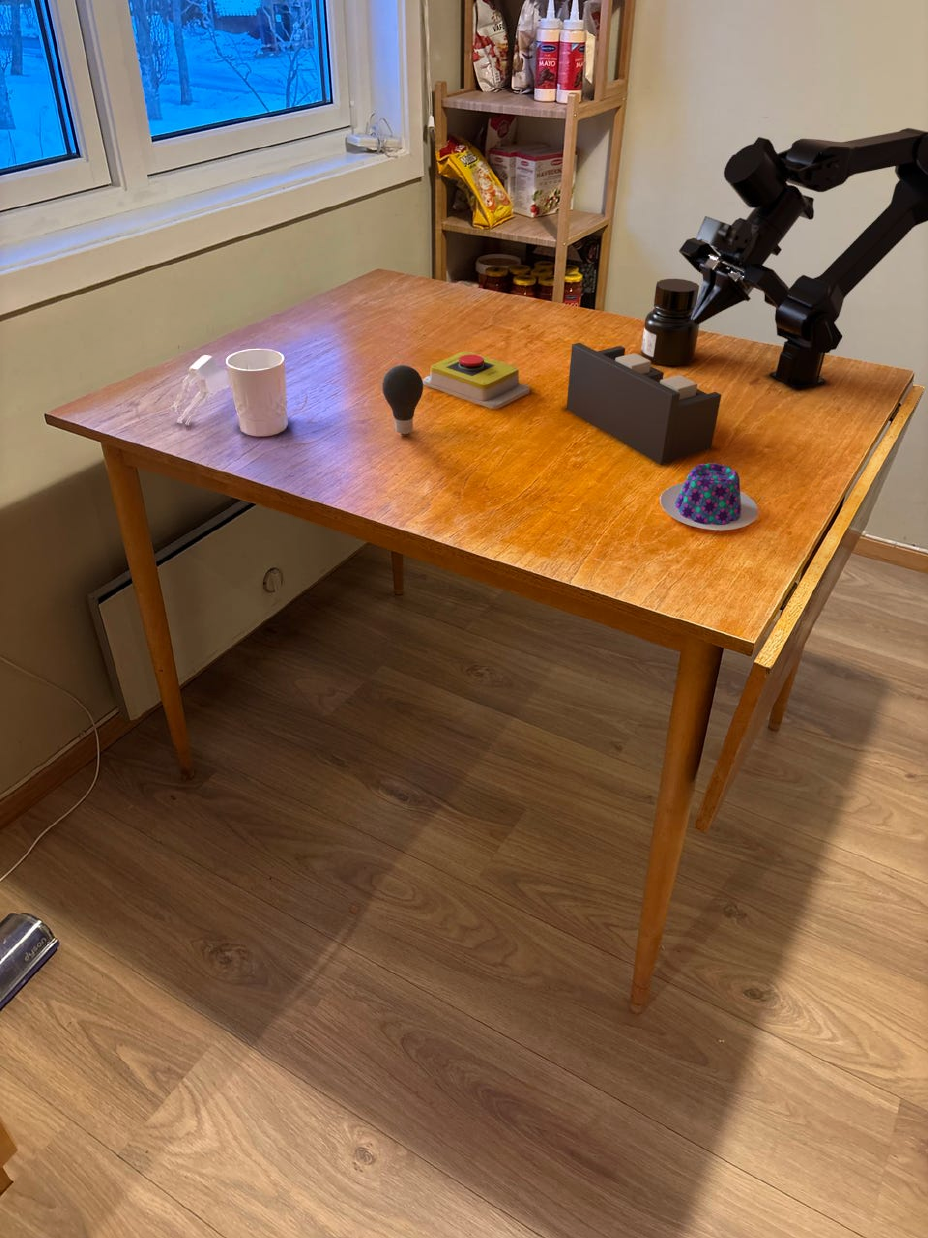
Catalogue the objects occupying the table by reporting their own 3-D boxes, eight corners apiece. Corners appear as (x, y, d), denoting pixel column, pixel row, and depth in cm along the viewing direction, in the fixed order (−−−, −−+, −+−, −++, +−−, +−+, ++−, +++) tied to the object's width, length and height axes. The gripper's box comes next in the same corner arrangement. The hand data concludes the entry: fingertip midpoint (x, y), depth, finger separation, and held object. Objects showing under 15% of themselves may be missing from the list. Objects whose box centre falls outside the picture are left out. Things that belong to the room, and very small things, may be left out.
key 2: (677, 387, 129) (679, 374, 128) (695, 396, 127) (697, 383, 126) (658, 393, 128) (660, 379, 126) (676, 402, 125) (678, 388, 124)
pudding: (771, 534, 111) (780, 495, 107) (673, 537, 110) (680, 498, 107) (739, 485, 120) (747, 448, 117) (649, 487, 119) (654, 451, 116)
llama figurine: (205, 457, 137) (262, 373, 145) (174, 403, 127) (237, 316, 135) (195, 455, 137) (252, 371, 145) (163, 400, 128) (226, 314, 136)
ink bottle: (647, 343, 160) (656, 273, 153) (698, 351, 158) (710, 279, 150) (634, 363, 153) (644, 290, 146) (687, 371, 150) (700, 297, 143)
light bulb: (394, 446, 128) (391, 377, 122) (378, 430, 132) (374, 362, 125) (430, 438, 130) (429, 370, 124) (413, 422, 134) (412, 355, 128)
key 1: (632, 365, 135) (634, 352, 134) (649, 373, 133) (651, 360, 132) (613, 370, 134) (615, 357, 133) (630, 378, 132) (632, 365, 130)
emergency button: (458, 340, 148) (533, 364, 141) (458, 366, 151) (532, 391, 143) (419, 356, 142) (496, 382, 135) (420, 383, 145) (495, 410, 137)
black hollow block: (614, 395, 142) (621, 332, 136) (711, 448, 128) (724, 380, 122) (566, 409, 138) (571, 344, 132) (661, 465, 124) (672, 395, 118)
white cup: (301, 419, 134) (294, 353, 128) (275, 442, 128) (267, 373, 122) (253, 411, 136) (244, 345, 130) (225, 433, 130) (214, 365, 124)
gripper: (694, 177, 130) (625, 273, 134) (782, 206, 117) (703, 312, 121) (734, 224, 138) (668, 314, 141) (822, 257, 124) (745, 355, 128)
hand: (693, 322), depth 133 cm, fingers closed
